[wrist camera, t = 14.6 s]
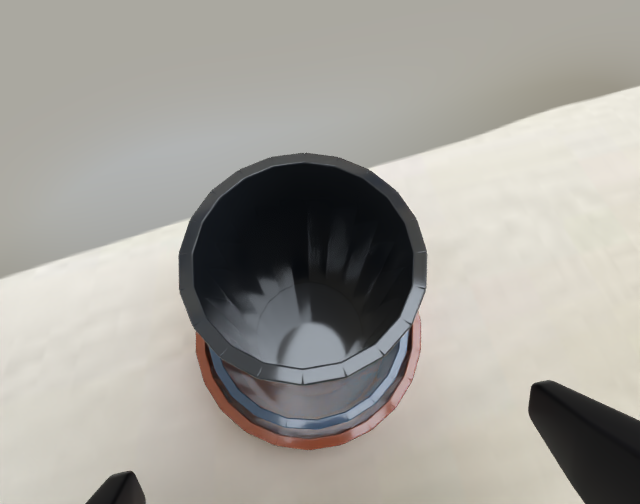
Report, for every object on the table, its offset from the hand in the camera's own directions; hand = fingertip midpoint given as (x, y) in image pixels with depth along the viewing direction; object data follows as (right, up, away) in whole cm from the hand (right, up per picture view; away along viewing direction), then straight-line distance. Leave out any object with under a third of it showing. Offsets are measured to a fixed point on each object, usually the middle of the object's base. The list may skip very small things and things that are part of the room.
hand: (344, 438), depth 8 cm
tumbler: (-1, -1, +13) cm, 13 cm away
